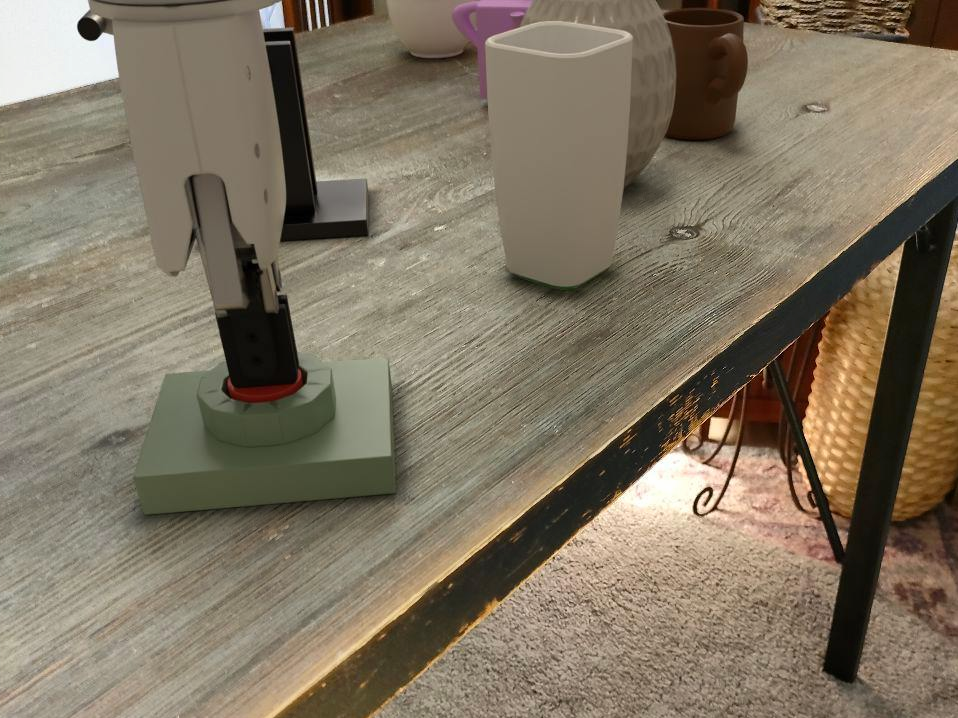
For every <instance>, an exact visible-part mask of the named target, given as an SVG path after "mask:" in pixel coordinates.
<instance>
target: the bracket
mask: <svg viewBox="0 0 958 718" xmlns="http://www.w3.org/2000/svg"><path fill="white" fill-rule="evenodd" d="M262 29H263V34H264V40H265V45H266V51H267V57H268V62H269V68H270V74H271V80H272V86H273V92H274V98H275V105H276V111H277V118H278V125H279V132H280V139H281V147H282V155H283V164H284V174H285V185H286V207H285V214H284V221H283V227H282V232H281V238H280V242H284V241H302V240H315V239H331V238H333V239H334V238H347V237H361V236H364V237H365V236H369V185H368V179H367V178H366V177H365V178H351V179H350V178H349V179H335V180H334V179H333V180H318V181H317V176H316V175H317V174H316V169H315V162H314V156H313V149H312V144H311V143H312V142H311V135H310V129H309V122H308V116H307V110H306V108H307V107H306V101H305V93H304V87H303V81H302V75H301V68H300V61H299V54H298V47H297V40H296V34H295V27H274V28H271V27H270V28H262Z"/></svg>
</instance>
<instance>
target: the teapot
mask: <svg viewBox="0 0 958 718" xmlns="http://www.w3.org/2000/svg"><path fill="white" fill-rule="evenodd" d="M532 1H533V0H480V1H474V2H468V3H464V4H461V5H459V6H457V7H455V9H454V10H453V12H452V19H453V22H454V24H455V26H456V27H457V29H458V30H459V31H460V32H461V34H462V35H463V36H464V37H465V38H466V39H468V40H469V43H470V44H472V45H473V46H474V47H476V49H477V67H478V68H477V69H478V88H479V98H480V99H488V98H487V75H486V52H485V42H486V40H487V39H488V38H490V37H492V36H494V35H498V34H501V33H504V32H507V31H510V30H514V29H517V28H519V27H520V25H521V22H522V20H523V18H524V16H525V14H526V12H527V9H528V8H529V6H530V5H531V3H532ZM475 11H476V29H475V28H474V27H473V25H472V23H471V21H470V19H469V15H470V14H471V13H472V12H475Z"/></svg>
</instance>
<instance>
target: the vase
mask: <svg viewBox="0 0 958 718" xmlns="http://www.w3.org/2000/svg"><path fill="white" fill-rule="evenodd" d="M662 13H663V11H662V9H661V7H660V5H659V4H658V2H657V1H656V0H533V1H532V3H531V5H530V6H529V8H528V9H527V12H526V14H525V16H524V18H523V20H522V22H521V25H520V27H523V26H527V25H530V24H533V23H538V22H547V21H562V22H571V23H577V24H584V25H591V26H597V27H604V28H610V29H617V30H622V31H626V32H628V33H630V34H631V35H632V36H633V42H632V70H631V97H630V114H629V130H628V145H627V156H626V166H625V177H624V188H623V190H624V189H625V188H627V187H628V186H629V185H631V183H633V181H634V180H635V179H636V178H637V177H638V176H639V175H640V174H641V173H642V172H643V171H644V170H645V168H646V167H647V166H648V165H649V163H650V162H651V160H652V158H653V157H654V156H655V154H656V153H657V152H658V149H659V147H660V146H661V144H662V143H663V140H664V138H665V136H666V135H665V134H666V132H667V129H668V126H669V123H670V120H671V117H672V113H673V107H674V100H675V94H676V77H677V71H676V56H675V50H674V46H673V41H672V37H671V34H670V31H669V29H668V26H667V23H666V20H665V18H664V16H663V14H662ZM520 27H519V28H520Z"/></svg>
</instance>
